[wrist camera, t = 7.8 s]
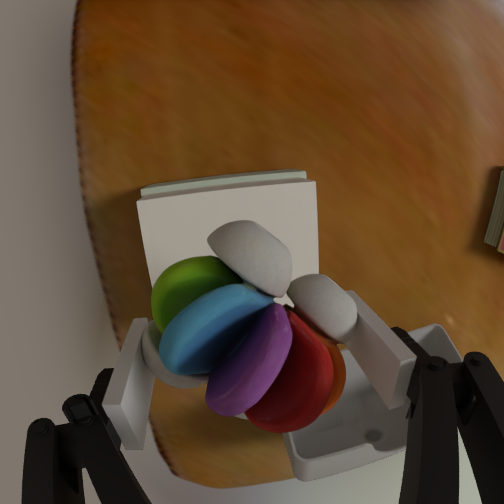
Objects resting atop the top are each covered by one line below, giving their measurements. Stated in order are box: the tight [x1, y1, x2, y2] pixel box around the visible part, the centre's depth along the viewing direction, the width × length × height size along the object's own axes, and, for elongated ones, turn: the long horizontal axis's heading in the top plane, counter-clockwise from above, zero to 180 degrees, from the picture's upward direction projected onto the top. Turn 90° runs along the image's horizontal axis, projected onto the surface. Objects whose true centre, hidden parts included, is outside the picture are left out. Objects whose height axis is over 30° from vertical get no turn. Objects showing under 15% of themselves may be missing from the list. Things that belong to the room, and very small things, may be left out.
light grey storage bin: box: [282, 323, 463, 481], centre depth 34 cm, size 25×16×12 cm, turn 96°
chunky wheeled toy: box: [142, 220, 357, 433], centre depth 13 cm, size 8×10×7 cm
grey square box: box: [136, 169, 319, 307], centre depth 28 cm, size 14×14×8 cm
